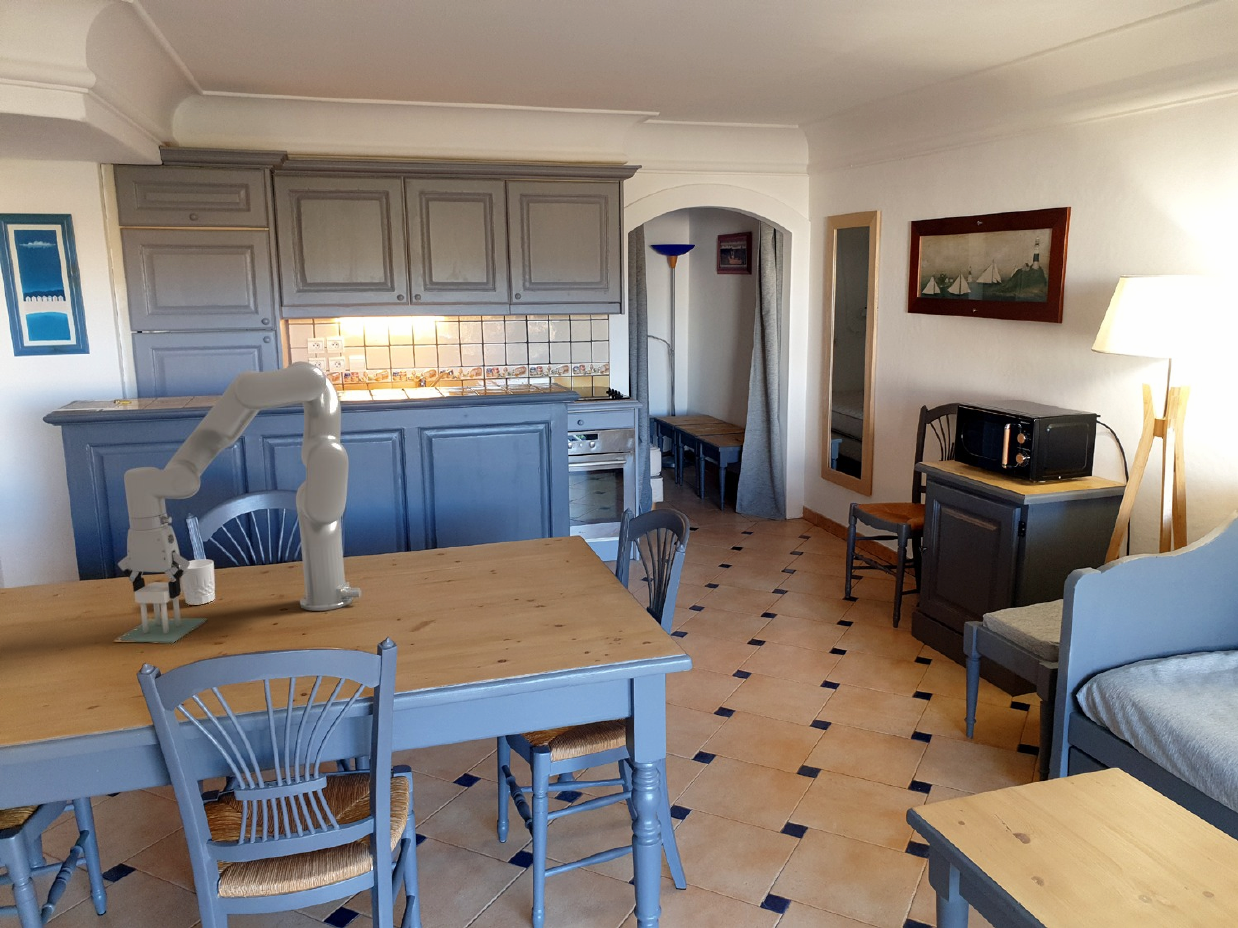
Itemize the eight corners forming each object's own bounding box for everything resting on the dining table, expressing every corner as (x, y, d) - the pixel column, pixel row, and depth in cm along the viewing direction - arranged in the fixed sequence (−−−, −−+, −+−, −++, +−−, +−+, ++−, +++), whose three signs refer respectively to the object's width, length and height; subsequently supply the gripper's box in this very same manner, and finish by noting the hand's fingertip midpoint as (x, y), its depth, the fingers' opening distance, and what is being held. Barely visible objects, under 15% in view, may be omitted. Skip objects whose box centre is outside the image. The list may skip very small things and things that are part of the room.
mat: (207, 620, 214) (206, 618, 214) (173, 643, 200) (173, 641, 200) (151, 619, 215) (150, 617, 215) (114, 642, 201) (113, 640, 201)
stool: (185, 623, 211) (181, 582, 209) (168, 634, 204) (163, 592, 202) (156, 622, 211) (152, 582, 209) (138, 633, 204) (134, 591, 202)
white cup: (223, 596, 231) (219, 559, 229) (207, 607, 223) (202, 568, 221) (194, 596, 231) (190, 559, 230) (176, 606, 224) (172, 568, 222)
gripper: (194, 518, 206) (203, 591, 209) (122, 518, 207) (132, 590, 210) (176, 526, 198) (185, 602, 202) (101, 526, 200) (111, 601, 203)
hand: (157, 596), depth 206 cm, fingers open, 7 cm apart
